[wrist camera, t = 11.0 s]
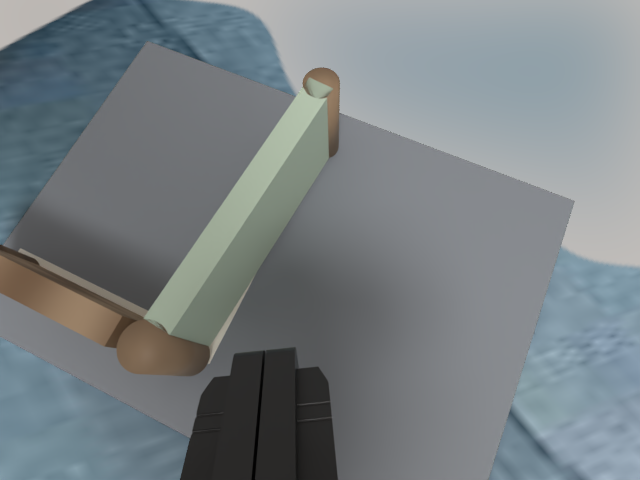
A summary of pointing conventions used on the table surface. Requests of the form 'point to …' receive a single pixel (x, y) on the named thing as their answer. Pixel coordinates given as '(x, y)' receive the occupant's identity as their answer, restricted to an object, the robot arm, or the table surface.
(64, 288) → the walnut fence
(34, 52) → the table surface
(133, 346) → the green panel
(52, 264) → the card
